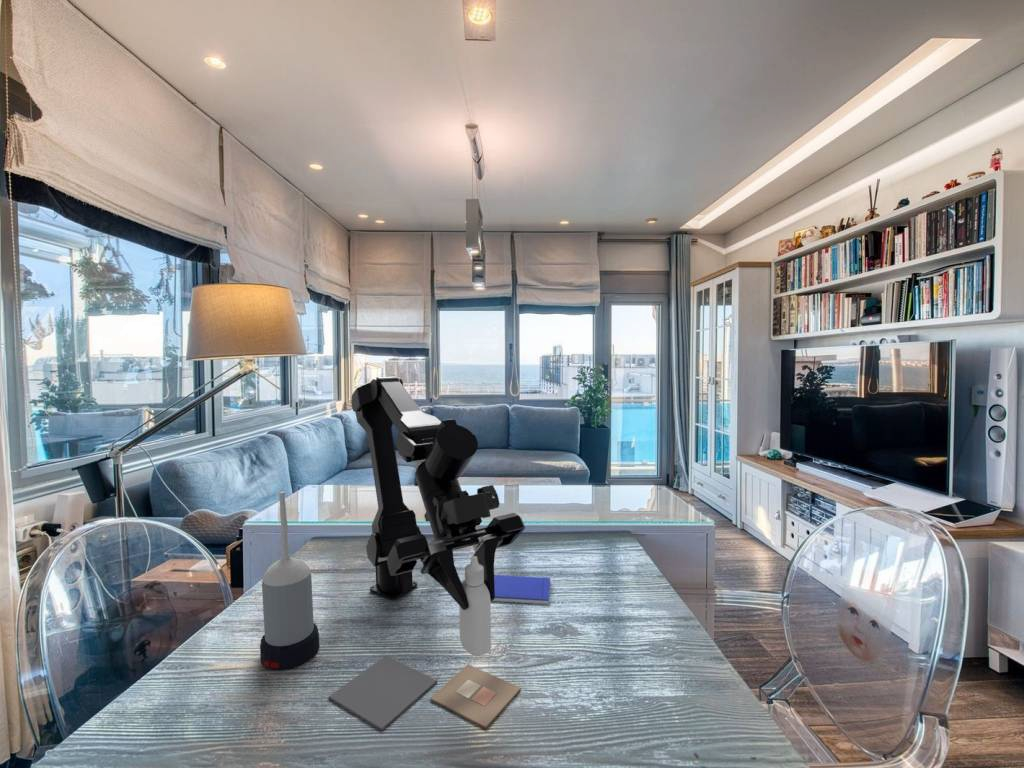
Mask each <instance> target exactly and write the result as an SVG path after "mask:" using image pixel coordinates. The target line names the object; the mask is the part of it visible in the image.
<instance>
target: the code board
mask: <svg viewBox="0 0 1024 768" xmlns="http://www.w3.org/2000/svg"><path fill="white" fill-rule="evenodd" d="M521 690H522V688H521V686H518V685H515V684H513V683H511V682H509V681H507V680H504V679H502V678H501V677H498V676H496V675H494V674H491V673H489V672H486V671H484V670H482V669H480V668H478V667H475V666H473V665H471V664H469V663H467V664H466V665H465V666H463V667H462V669H460V670H459V672H458V673H456V674H455V675H454V676H453V677H452V678H451V679H450V680H448V681H447V682H446V683H445V684H444V685H443V686H442V687H441V688H440V689H439V690H437V692H435V693H433V695H432V696H431V697H430V699H429V700H430V701H431V702H433V703H435V704H437V705H439V706H440V707H443V708H445V709H447V710H449V711H451V712H452V713H454V714H457V715H458V716H460V717H462V718H464V719H466V720H467V721H470V722H472V723H474V724H476V725H477V726H479V727H481V728H482V729H484V730H487V729H488V728H489V727H490V726H491V724H492V723H493V722H494V721H495V719H496V718H497V717H498V716H500V714H501V713H502V712H503V711H504V709H505V708H506V707H507V706H508V705H509V704H510V703H511V701H512V700H514V698H515V697H516V696H517V695H518V694H519V692H521Z"/></svg>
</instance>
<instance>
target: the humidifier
mask: <svg viewBox="0 0 1024 768" xmlns="http://www.w3.org/2000/svg"><path fill="white" fill-rule="evenodd" d="M278 495H279V498H278V499H279V516H280V526H281V527H280V528H281V529H280V530H281V531H280V542H281V543H280V545H281V553H282V555H281V558H279V560H276V561H275V562H273V563H272V564H271V565H270V566H269V567H268V568H267V570H265V573H264V575H263V576H262V579H261V592H262V611H263V628H264V634H263V635H262V637H261V639H260V644H259V651H260V663H261V666H263V668H265V669H268V670H269V669H270V671H276V670H277V671H278V672H279V671H280V672H281V671H287V670H293V669H295V667H296V668H299V667H301V666H302V665H304V664H307V663H308V662H310V661H311V660H312V659H314V658H315V656H316V655H317V654H318V653H319V650H320V632H319V628H318V626H317V624H316V623H314V607H313V605H314V603H313V601H314V600H313V585H312V584H313V583H312V582H313V581H312V573H311V568H310V566H309V565H308V564H307V563H306V562H305V561H303V560H301V559H299V558H298V557H297V558H296V557H292V556H291V554H290V549H289V541H288V539H289V536H288V533H289V532H288V530H289V529H288V526H289V525H288V520H287V519H288V517H287V507H286V506H287V504H286V492H285V491H284V490H282V491H279V494H278ZM298 666H299V667H298ZM277 671H276V672H277Z"/></svg>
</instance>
